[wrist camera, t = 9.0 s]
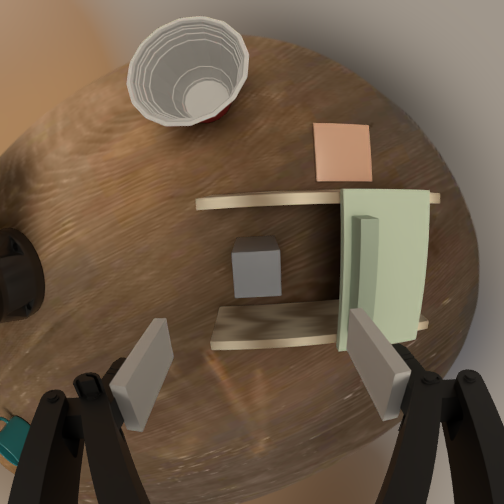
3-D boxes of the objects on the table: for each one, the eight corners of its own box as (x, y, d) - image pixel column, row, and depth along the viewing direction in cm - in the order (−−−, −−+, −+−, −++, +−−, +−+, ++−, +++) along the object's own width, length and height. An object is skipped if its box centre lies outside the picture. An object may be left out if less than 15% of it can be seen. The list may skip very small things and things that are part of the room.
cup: (12, 403, 44) (-11, 429, 34) (44, 439, 47) (25, 467, 36) (1, 408, 46) (-20, 431, 35) (31, 441, 48) (13, 467, 37)
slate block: (238, 273, 36) (234, 298, 29) (236, 237, 35) (231, 252, 28) (275, 271, 36) (281, 295, 29) (274, 235, 35) (279, 250, 28)
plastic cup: (148, 92, 31) (106, 59, 20) (223, 49, 30) (211, -3, 18) (188, 161, 33) (156, 151, 22) (267, 116, 32) (274, 83, 20)
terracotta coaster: (315, 181, 34) (317, 181, 33) (312, 124, 32) (313, 123, 32) (370, 181, 34) (372, 181, 33) (366, 126, 32) (368, 125, 31)
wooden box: (220, 313, 38) (211, 350, 29) (210, 195, 34) (195, 199, 25) (395, 300, 37) (427, 328, 28) (401, 189, 34) (439, 193, 25)
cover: (336, 346, 28) (344, 364, 25) (340, 188, 25) (352, 189, 22) (411, 335, 28) (425, 350, 25) (424, 189, 25) (443, 191, 21)
